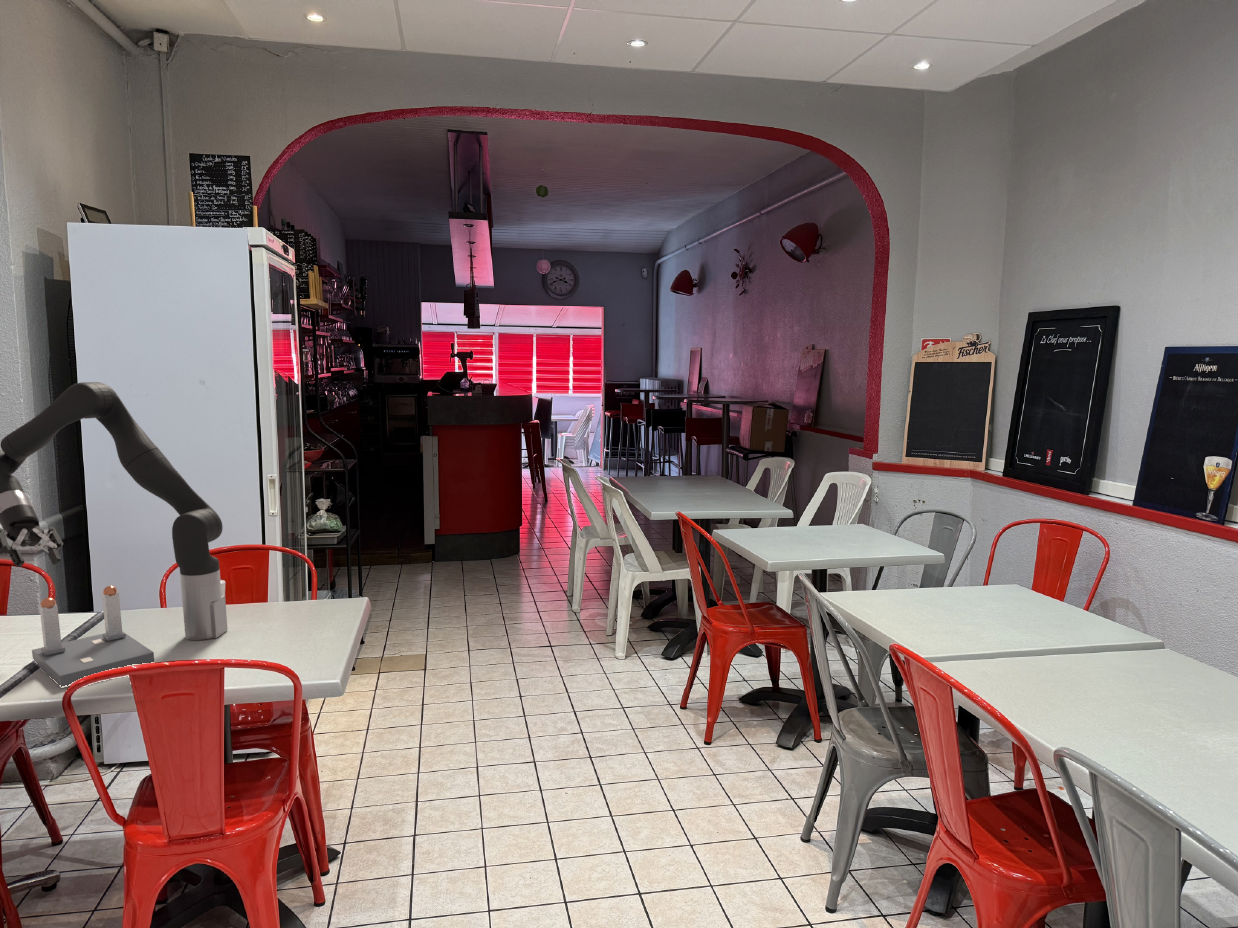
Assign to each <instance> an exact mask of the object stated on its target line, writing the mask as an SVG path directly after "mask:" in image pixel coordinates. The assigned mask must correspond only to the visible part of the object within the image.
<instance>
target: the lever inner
mask: <svg viewBox="0 0 1238 928" xmlns="http://www.w3.org/2000/svg"><path fill="white" fill-rule="evenodd" d="M101 596H102V597H101V599H102V608H103V617H104V629H105V633H106V634H104V633H102V634H103V638H105V639H106V640H107V641H110V640H114V639H119V638H123V637H126V634H127V633H125V632H124V630H123V625H122V624H123V623H122V613H121V604H120V603H121V602H120V592H119V591H118V588H117V587H116V586H113V585H108V586H105V588H104V589H103V591H102V593H101Z"/></svg>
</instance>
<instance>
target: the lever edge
mask: <svg viewBox="0 0 1238 928" xmlns="http://www.w3.org/2000/svg"><path fill="white" fill-rule="evenodd" d="M39 612H40V623H41V629H42V630H41V632H42V639H43V640H42V641H43V647H44V648H42V647H40V648H41V652H42V653H43V654H44V655H45V656H46V655H51V654H55V653H59V652H63V651H65V647H64V646H62V645H61V643H62V637H61V628H60V626H61V625H60V618H59V616H60V615H59V607H58V604H57V601H56V600H55V598H53V597H46V598H43V599H42V600H41V602H40V605H39Z"/></svg>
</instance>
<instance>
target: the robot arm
mask: <svg viewBox="0 0 1238 928" xmlns="http://www.w3.org/2000/svg"><path fill="white" fill-rule="evenodd" d="M83 419H86V420H87V419H96V420H97V421H98V422H99V423H100V424H101V425H102V426H103V427H104V428H105V429H106V430H107V431H108V433H109V434H110V435H111V438H112V439H113V442H114V444H115V445H114V446H115V449H116V452H117V453H116V454H117V457H118V459H119V462H120V463H121V464H120V465H121V466H122V467H123V468H124V470H125V471H126V472H127V473H128V474H129V475H130V477H131V479H133V481H135V483H136V484H138V486H140V487H141V488H143V490H146V491H147V492H148V493H151V494H152V495H154V496H155V497H157V498H159V499H160V500H162V501H164V502H166V504H168V505H169V506H170V507H172V509H174V510H175V512H176V513H177V514H178V516H177V517H176V518H175V520H174V521H173V524H172V527H171V534H172V535H171V537H172V538H171V540H172V544H173V553H174V559H175V562H176V564H177V567H178V569H179V576H180V590H181V601H182V612H183V623H184V625H183V626H184V635H185V639H187V640H191V641H203V640H208V639H216V638H217V639H218V638H219V637H220V636H222V635H223V634H224V633H226V632H227V631H228V618H227V617H228V616H227V606H226V605H227V604H226V602H227V601H226V595H225V596H222V594H221V581H220V580H221V570H220V560H219V559H218V558H217V557H215V556H213V555H211V553H210V547H209V546H210V545H209V543H210V542H213V541H216V540H217V539H218V538H219V537H220V536H221V535H222V533H223V528H224V527H223V522H222V519H221V517H220V516H219V514H218V513H217V512H216V511H215V510H214V509H213V508H212V507H211V506H210V504H208V503H207V502H206V501H205V499H203V498H202V497H201V496H199V494H198V493H197V492H196V491H195V490H194V489H193V488H192V487H191V486H190V485H189V483H188V482H187V481H186V479H185V478H183V476H182V474H180V473H179V472H178V470H177V469H175V467H174V466H173V465H172V463H171V462H170V460H169V459H168V458H167V457H166V456H165V455H164V453H163V452H162V451H161V450H160V449H159V448H158V447H157V445H156V444H155V443H154V442H153V441H152V440H151V438H150V437H149V436H148V435H147V434H146V432H145V431H144V429H142V427H141V426H140V425H139V424H138V422H137V421H136V420H135V419H134V417H133V416H132V415H131V413H130V412H129V410H128V408H127V407H126V405H125V404H124V402H123V401H122V400H121V398H120V397H119V395H118V394H117V392H116V391H115V390H114V389H113V388H112V387H111V386H109V385H108V384H106V383H103V382H97V381H88V382H85V381H84V382H83V381H82V382H76V383H73V384H72V385H70V386H69V387H68V388H66V389H65V390H64V391H63V392H62V393H61V394H59V396H58V397H57V398H56V399H55V400H54V401H52V402H51V403H50V404H49V405H48V406H47V407H46V408H44V409H43V410H42V411H41V412H39V413H38V414H37V415H36V416H35V417H33V418H32V419H30V420H29V421H27V422H26V423H24V424H23V425H21V426H20V427H18V428H16V429H15V430H13V431H12V432H10V433H9V434H7V435H5V436H4V437H3V438H2V439H1V441H0V526H1V528H0V555H3V554H7V556H9V557H10V559H11V561H12V563H13V565H14V566H16V567H17V568H20V567H22V566H23V565H24V564H25V560H24V557H23V555H22V553H21V551H20V549H19V547H21V548H25V547H36V548H37V549H39V550H43V551H45V552H46V553H47V556H48V558H49V560H50V562H51V564H52V565H55V566H56V565H58V563H60V561H61V559H62V557H61V555H60V553H59V550H60V549H61V548H62V547H63V545H64V542H63V540H62V539H61V537H60V535H59V533H58V532H57V530H56V528H55V527H53V526H51V527H50V528H49V529H43V528H42V527H41V526H40V519H39V518H38V515H37V513H36V511H35V509H34V507H33V504H32V503H31V501H30V499H29V497H28V496H27V494H26V493H25V491H24V489H23V486H22V484H21V482H20V481H19V479H18V478H17V477H15V476H14V475H13V474H15V472H16V471H17V470H18V469H19V468H21V466H22V464H24V462H25V461H26V459H27V458H28V457H30V456H31V455H33V454H35V453H36V452H39V450H41V449H42V448H44V447H46V446H47V445H48V444H49V443H50V442H52V440H53V438H55V436H56V434H58V432H60V430H62V429H63V428H65V427H66V426H68V425H70V424H72V423H75V422H78V421H80V420H83ZM7 539H8V540H10V541H12V542H11V544H10V545H9V542H8V540H7ZM41 540H42V542H41Z"/></svg>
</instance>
